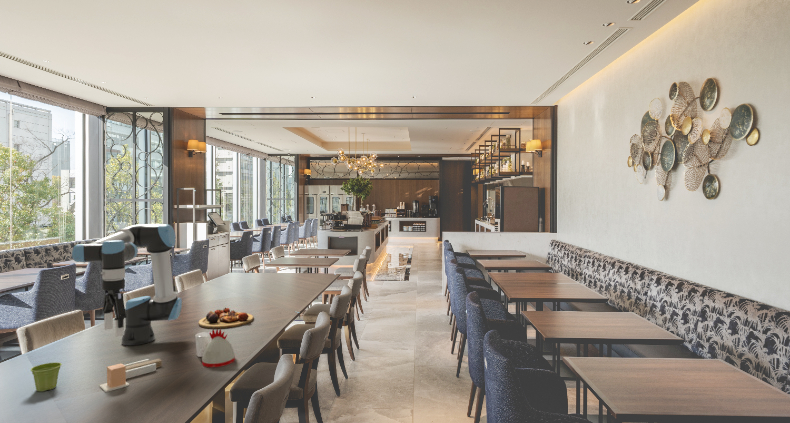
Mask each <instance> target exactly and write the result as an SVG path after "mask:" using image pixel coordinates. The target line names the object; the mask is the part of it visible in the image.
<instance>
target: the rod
mask: <svg viewBox="0 0 790 423" xmlns="http://www.w3.org/2000/svg"><path fill="white" fill-rule="evenodd" d="M154 363H156V369H157V368H160V367H162V359H161V358H157V359H152V360H149V361H148V362H143V363H139V364H135V365H131V366H126V371H127V370H131V369H135V368H139V367H143V366H146V365H150V364H154Z"/></svg>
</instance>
